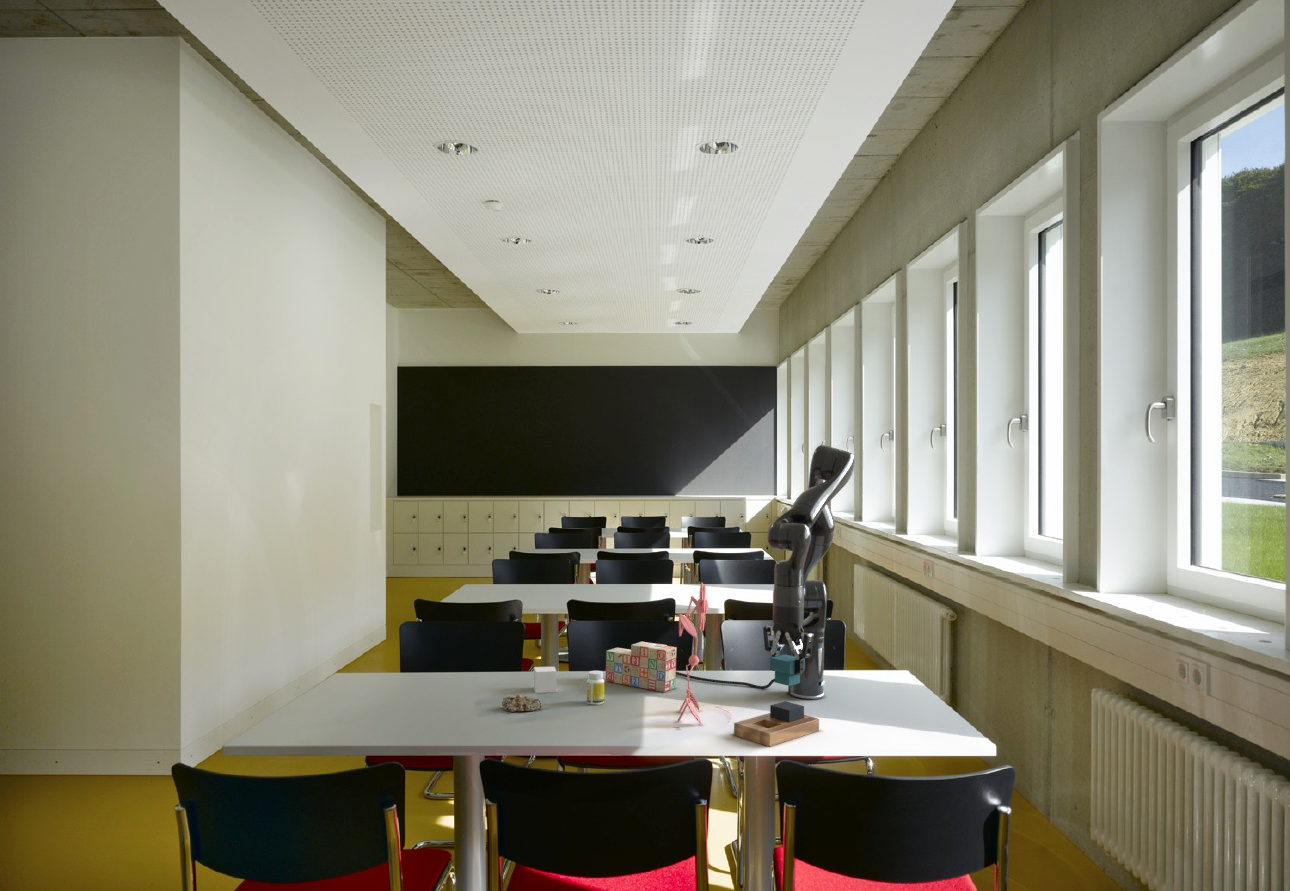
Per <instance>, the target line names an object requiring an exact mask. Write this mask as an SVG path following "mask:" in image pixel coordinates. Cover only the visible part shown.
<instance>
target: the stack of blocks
mask: <svg viewBox="0 0 1290 891" xmlns="http://www.w3.org/2000/svg"><path fill="white" fill-rule="evenodd" d="M676 672H677V646H671V645H667V644H664V643H663V644H662V643H653V642H647V641H646V642H645V641H639V642H636V643H632V644H631V645H630V649H629V648H623V647H614V648H611V649H608V650H606V651H605V682H610V683H614V684H620V685H626V686H631V687H635V688H641V689H647V690H649V691H650V690H651V691H655V692H656V691H657V692H661V693H667V692H669V691H672V690H674V689H676V681H677V680H676V679H677V678H676Z"/></svg>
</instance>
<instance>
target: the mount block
mask: <svg viewBox="0 0 1290 891" xmlns="http://www.w3.org/2000/svg"><path fill="white" fill-rule="evenodd" d="M819 731H820V718H818V717H814V716H810V715H807V714H804V718H803V719H799V720H796V721H793V722H790V723H789V722H785V721H782V720H778V719H775V718H772V717H770V712H768V713H765V714H760V715H758V716H753V717H751V718H746V719H742V720H740V721H736V722H735V721H734V722H733V735H734V736H736V737H739V738H742V739H744V740H748V741H751V742H754V743H757V744H760V745H764V746H766V747H772V746H776V745H779V744H782V743H785V742H788V741H791V740H794V739H798V738H801V737H803V736H806V735H809V734H813V733H816V732H819Z"/></svg>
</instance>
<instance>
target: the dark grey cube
mask: <svg viewBox="0 0 1290 891" xmlns="http://www.w3.org/2000/svg"><path fill="white" fill-rule="evenodd" d="M769 708H770V709H769V713H770V717H772V718H775V719H778V720H782V721H785V722H789V723H790V722H793V721H796V720H799V719H803V718H804V715H805V706H804V705H803V704H802V705H801V704H797V703H794V702H790V701H786V700H783V701H781V702H777V703H773V704H770V706H769Z"/></svg>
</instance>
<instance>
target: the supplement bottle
mask: <svg viewBox="0 0 1290 891" xmlns="http://www.w3.org/2000/svg"><path fill="white" fill-rule="evenodd" d="M604 703H605V679H604V672H603V671H602V670H590V671H588V679H587V680H586V704H588V705H592V706H600V705H603V704H604Z"/></svg>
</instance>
